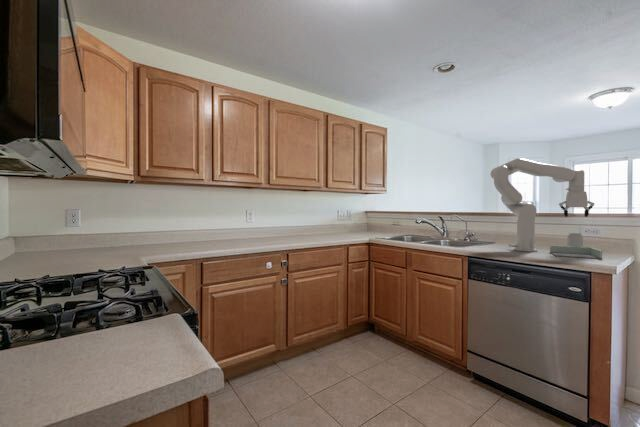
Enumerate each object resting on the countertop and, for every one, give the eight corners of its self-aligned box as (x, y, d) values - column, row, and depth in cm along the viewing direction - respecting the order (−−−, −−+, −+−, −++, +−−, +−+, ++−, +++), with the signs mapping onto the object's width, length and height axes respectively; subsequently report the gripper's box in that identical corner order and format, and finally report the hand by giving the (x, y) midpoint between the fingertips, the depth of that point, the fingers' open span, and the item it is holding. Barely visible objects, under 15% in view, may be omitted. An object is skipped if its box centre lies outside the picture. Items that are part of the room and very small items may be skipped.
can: (581, 251, 190) (582, 233, 189) (583, 253, 183) (584, 233, 183) (566, 250, 194) (566, 232, 194) (568, 252, 188) (568, 233, 187)
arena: (556, 256, 171) (556, 248, 171) (549, 252, 185) (550, 245, 185) (602, 259, 161) (602, 250, 161) (591, 255, 176) (592, 247, 176)
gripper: (560, 189, 188) (560, 216, 189) (596, 188, 180) (596, 216, 180) (557, 190, 195) (557, 216, 195) (592, 189, 187) (592, 216, 187)
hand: (576, 216), depth 188 cm, fingers open, 9 cm apart
